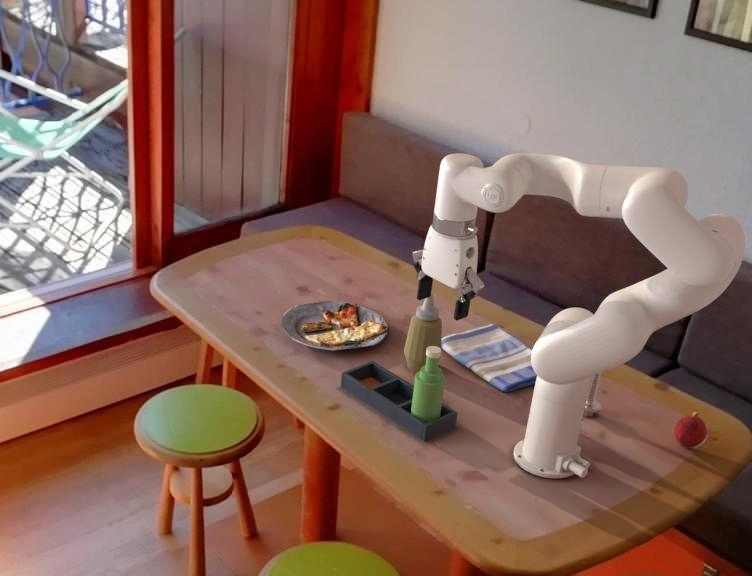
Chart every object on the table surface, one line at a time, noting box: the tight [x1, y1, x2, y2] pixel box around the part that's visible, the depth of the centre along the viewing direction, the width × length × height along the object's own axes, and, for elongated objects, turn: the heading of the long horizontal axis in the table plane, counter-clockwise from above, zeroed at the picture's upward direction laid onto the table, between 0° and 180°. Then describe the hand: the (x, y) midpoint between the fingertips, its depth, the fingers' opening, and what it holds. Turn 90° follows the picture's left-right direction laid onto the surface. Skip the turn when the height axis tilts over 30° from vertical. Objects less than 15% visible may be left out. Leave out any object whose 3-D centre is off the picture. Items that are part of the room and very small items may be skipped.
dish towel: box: [441, 323, 537, 393], centre depth 234 cm, size 17×24×3 cm
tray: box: [340, 360, 459, 442], centre depth 216 cm, size 25×9×4 cm, turn 37°
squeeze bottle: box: [403, 292, 443, 373], centre depth 227 cm, size 8×8×18 cm
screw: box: [583, 372, 602, 418], centre depth 213 cm, size 13×5×5 cm
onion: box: [673, 411, 707, 449], centre depth 205 cm, size 6×6×8 cm
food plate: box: [280, 300, 390, 352], centre depth 244 cm, size 25×23×4 cm
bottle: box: [411, 346, 446, 423], centre depth 207 cm, size 6×6×17 cm
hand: (441, 308), depth 199 cm, fingers open, 9 cm apart
